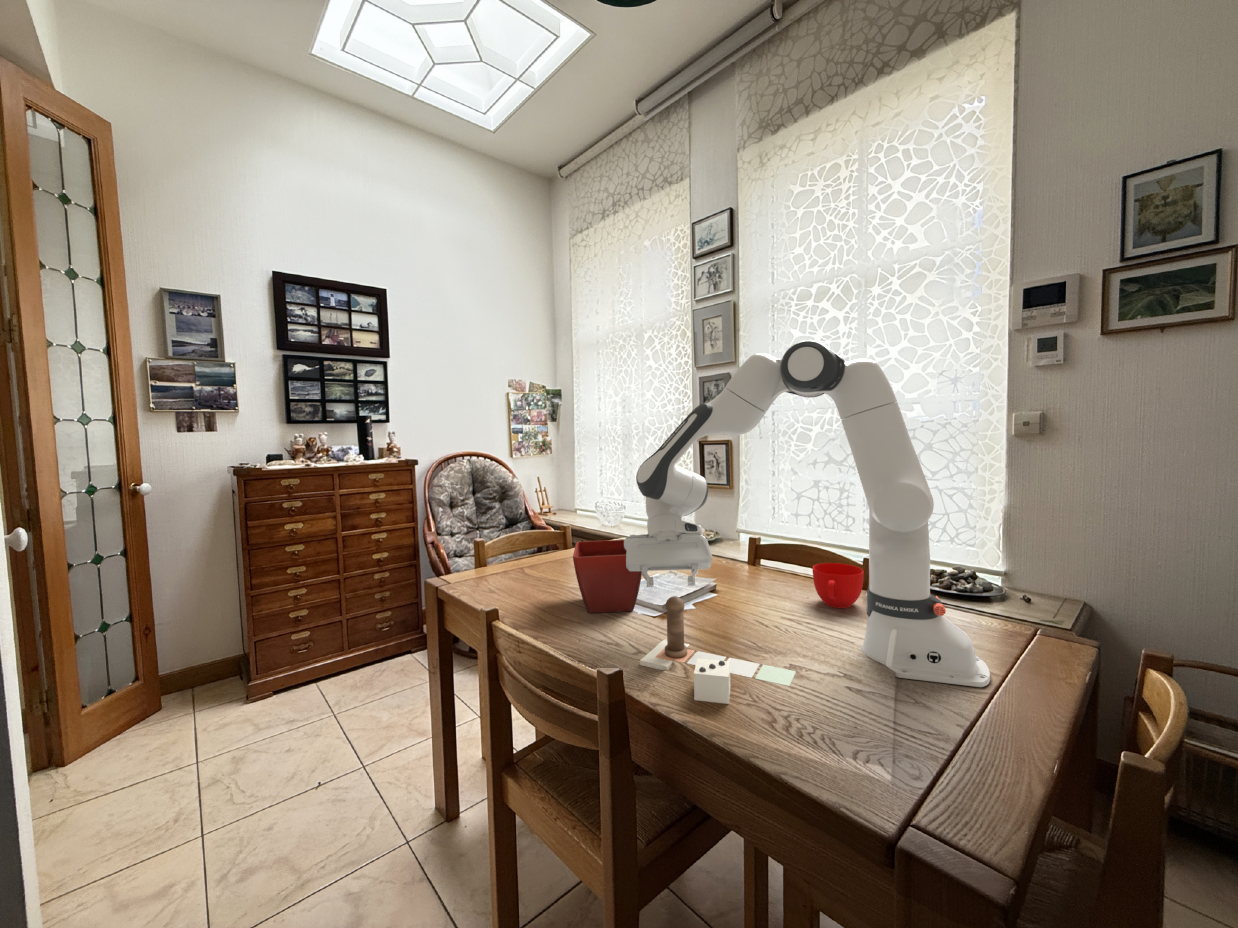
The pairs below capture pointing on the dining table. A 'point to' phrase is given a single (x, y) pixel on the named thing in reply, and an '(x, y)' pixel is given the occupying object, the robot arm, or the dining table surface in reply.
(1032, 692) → the dining table surface
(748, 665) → the game board
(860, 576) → the ceramic cup
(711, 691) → the die
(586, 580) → the plant pot
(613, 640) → the dining table surface
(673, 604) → the pawn
